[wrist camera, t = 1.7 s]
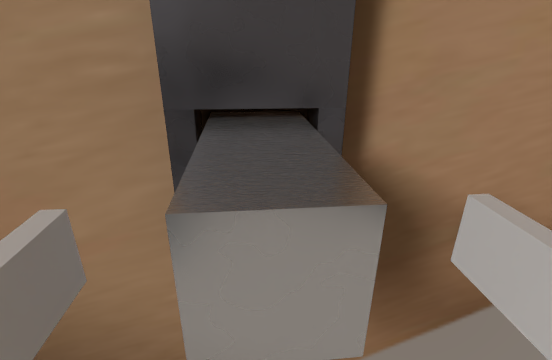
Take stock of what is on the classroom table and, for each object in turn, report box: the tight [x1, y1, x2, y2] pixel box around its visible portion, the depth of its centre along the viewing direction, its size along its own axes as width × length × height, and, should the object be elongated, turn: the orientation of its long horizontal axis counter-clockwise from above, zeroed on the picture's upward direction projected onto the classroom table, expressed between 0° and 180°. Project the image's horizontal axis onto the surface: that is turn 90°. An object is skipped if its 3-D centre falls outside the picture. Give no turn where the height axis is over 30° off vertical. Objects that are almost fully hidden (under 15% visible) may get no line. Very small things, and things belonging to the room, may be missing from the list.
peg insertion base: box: [150, 0, 356, 192], centre depth 15 cm, size 9×28×3 cm, turn 0°
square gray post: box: [165, 111, 387, 360], centre depth 13 cm, size 5×5×12 cm
